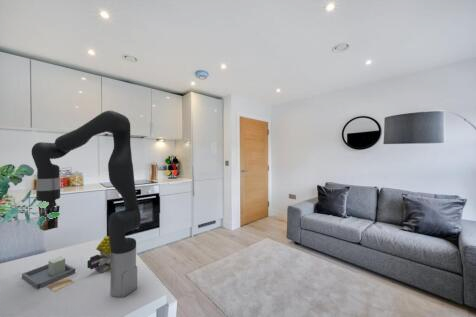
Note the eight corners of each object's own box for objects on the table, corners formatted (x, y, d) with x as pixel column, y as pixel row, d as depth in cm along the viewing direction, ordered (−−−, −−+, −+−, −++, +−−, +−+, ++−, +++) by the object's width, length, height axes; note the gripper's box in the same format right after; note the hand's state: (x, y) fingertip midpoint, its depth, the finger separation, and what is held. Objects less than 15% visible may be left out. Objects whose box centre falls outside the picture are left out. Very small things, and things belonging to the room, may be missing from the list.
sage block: (65, 271, 94) (65, 258, 94) (53, 276, 90) (53, 263, 90) (60, 268, 96) (60, 256, 96) (48, 273, 92) (48, 260, 92)
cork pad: (74, 283, 87) (74, 281, 87) (53, 293, 80) (53, 291, 80) (66, 278, 90) (66, 277, 90) (46, 287, 83) (46, 286, 83)
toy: (82, 274, 93) (82, 242, 93) (110, 261, 105) (111, 233, 104) (93, 280, 89) (93, 247, 88) (122, 266, 100) (122, 237, 100)
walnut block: (57, 227, 87) (57, 213, 87) (44, 230, 83) (44, 216, 83) (52, 225, 90) (52, 212, 89) (39, 228, 85) (39, 214, 85)
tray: (75, 274, 93) (75, 268, 93) (37, 290, 81) (37, 284, 81) (58, 265, 100) (58, 260, 100) (22, 279, 89) (22, 273, 89)
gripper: (67, 188, 86) (67, 227, 87) (52, 186, 93) (52, 222, 93) (44, 191, 80) (44, 233, 80) (29, 188, 86) (29, 227, 86)
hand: (48, 227), depth 86 cm, fingers closed on walnut block, 4 cm apart
